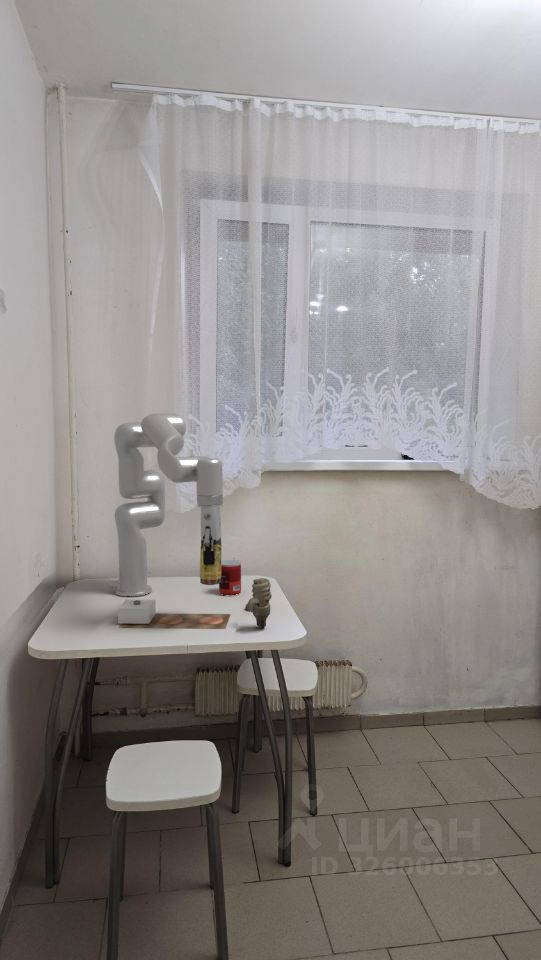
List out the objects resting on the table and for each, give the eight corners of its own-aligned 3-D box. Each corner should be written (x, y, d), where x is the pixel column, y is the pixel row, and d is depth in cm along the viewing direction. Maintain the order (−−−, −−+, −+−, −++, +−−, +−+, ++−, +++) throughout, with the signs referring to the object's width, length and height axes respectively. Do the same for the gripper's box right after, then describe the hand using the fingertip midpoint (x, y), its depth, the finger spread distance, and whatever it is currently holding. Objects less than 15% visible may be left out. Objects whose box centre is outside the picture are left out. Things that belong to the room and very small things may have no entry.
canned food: (242, 590, 231) (242, 559, 230) (239, 596, 223) (239, 564, 222) (221, 589, 232) (220, 559, 231) (217, 595, 224) (216, 564, 223)
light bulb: (273, 631, 187) (273, 579, 186) (254, 632, 186) (254, 581, 184) (267, 625, 193) (267, 575, 191) (249, 626, 191) (249, 576, 190)
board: (117, 631, 187) (117, 627, 187) (130, 616, 201) (130, 612, 201) (225, 633, 186) (225, 628, 186) (230, 617, 200) (230, 613, 199)
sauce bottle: (203, 587, 187) (202, 518, 185) (197, 581, 193) (196, 515, 191) (225, 584, 190) (224, 517, 188) (218, 579, 196) (217, 514, 194)
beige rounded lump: (261, 614, 203) (261, 583, 202) (243, 609, 208) (243, 579, 207) (273, 611, 207) (273, 580, 206) (255, 606, 212) (255, 576, 211)
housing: (118, 623, 189) (117, 605, 189) (126, 613, 198) (125, 596, 198) (149, 623, 189) (148, 605, 188) (155, 614, 198) (155, 597, 197)
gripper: (219, 504, 180) (219, 568, 182) (225, 497, 198) (226, 555, 199) (192, 504, 181) (193, 568, 183) (201, 497, 198) (202, 555, 200)
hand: (210, 561), depth 191 cm, fingers closed on sauce bottle, 6 cm apart
